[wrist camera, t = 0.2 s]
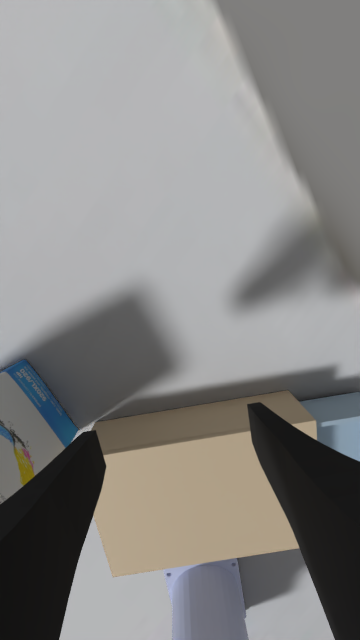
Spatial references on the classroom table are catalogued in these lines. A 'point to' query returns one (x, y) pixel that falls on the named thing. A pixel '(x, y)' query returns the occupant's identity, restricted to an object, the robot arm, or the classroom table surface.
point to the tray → (337, 422)
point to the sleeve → (190, 486)
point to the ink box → (28, 427)
